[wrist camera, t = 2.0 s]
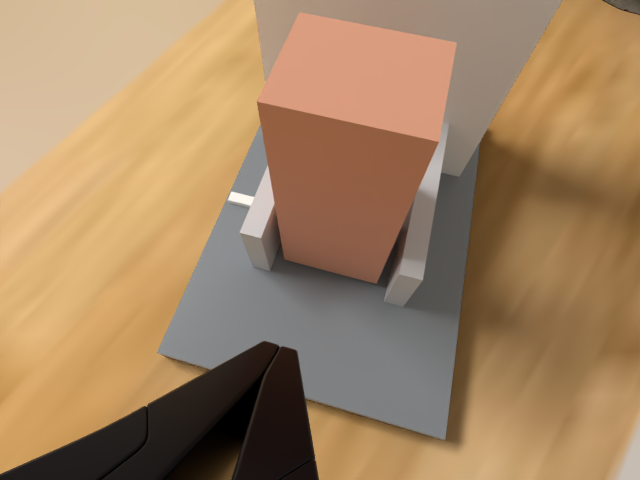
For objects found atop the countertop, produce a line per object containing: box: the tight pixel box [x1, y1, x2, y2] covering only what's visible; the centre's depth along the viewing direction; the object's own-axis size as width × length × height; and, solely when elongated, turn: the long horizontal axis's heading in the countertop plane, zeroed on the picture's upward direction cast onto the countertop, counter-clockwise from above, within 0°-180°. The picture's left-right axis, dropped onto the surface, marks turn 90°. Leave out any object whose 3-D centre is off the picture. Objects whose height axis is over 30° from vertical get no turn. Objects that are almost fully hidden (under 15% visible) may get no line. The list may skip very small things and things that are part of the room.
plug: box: [257, 12, 457, 284], centre depth 16 cm, size 4×5×11 cm
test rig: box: [157, 0, 562, 440], centre depth 17 cm, size 20×14×13 cm
